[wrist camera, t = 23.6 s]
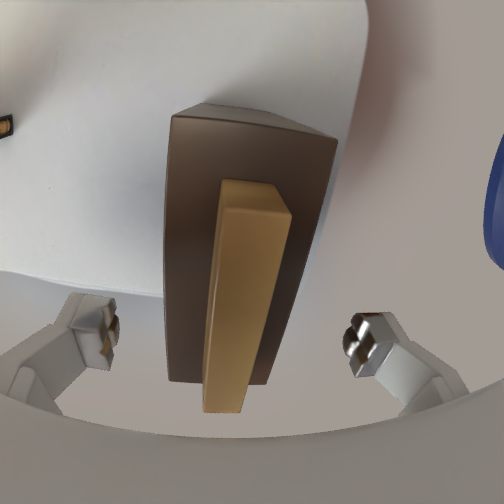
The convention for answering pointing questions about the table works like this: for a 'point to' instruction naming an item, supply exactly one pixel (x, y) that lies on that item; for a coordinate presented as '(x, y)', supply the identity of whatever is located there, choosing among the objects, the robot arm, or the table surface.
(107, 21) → the table surface
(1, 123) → the ammunition clip
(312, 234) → the brown thick block
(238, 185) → the tan wooden bar
